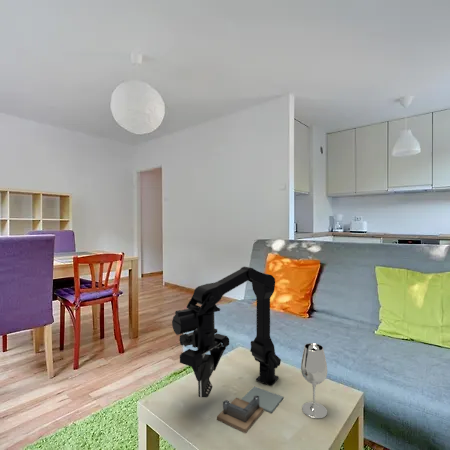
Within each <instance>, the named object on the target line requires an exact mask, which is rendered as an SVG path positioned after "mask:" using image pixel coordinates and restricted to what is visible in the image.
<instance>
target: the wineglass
mask: <svg viewBox="0 0 450 450" xmlns="http://www.w3.org/2000/svg"><path fill="white" fill-rule="evenodd" d="M300 362H301V364H300V371H301V376H302V377H303V378H304V379H305V380H306V382H308V383H309V384H311V385H312V401H309V402H305V403H303V404H302V406H301V410H302V412H303V414H305V416H307V417H309V418H313V419H322V418H323V419H324V418H325V417H326V416H327V415H328V410H327V408H326V407H325V406H324V405H323V404H321V403H318V402H316V389H317V388H316V387H317V385H320V384H322V383H323V382H324V381H325V380H326V378H327V377H328V365H327V364H328V363H327V360H326V354H325V351H324V346H322V345H321V344H319V343H314V342H310V343H309V342H308V343H305V344H304V347H303V351H302V356H301V361H300Z"/></svg>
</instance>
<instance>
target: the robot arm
mask: <svg viewBox="0 0 450 450" xmlns="http://www.w3.org/2000/svg"><path fill="white" fill-rule="evenodd" d="M247 282H250V283H251V286H252V291H253V293H254V295H255V297H256V335H255V337H254V340H250V350H249V352H250V353H251V356H252V357H253V358H254V360H255V361H256V362H258V363H259V376H257V377H256V379H255V380H256V381H257V382H260V383H261V384H266V385H268V386H271V387H272V386H273V385H274V384H275V383H276V382H277V381H278V380H279V376H278V375H276V369H278V367H280V365H281V361H282V360H281V358H280V357H279V356H278V355H276V350H275V345H274V342H273V340H272V338H271V297H272V296H273V294H274V292H275V287H276V279H275V277H274V276H273V274H268V273H263V272H261V271H259V270H257V269H256V268H255V269H254V268H253V267H249V266H242V267H240V268H239V269H238V270H236V271H234V272H232V273H230V274H229V275H227V276H225V277H223V278H222V279H220V280H217V281H215V282H210V283H205V284H202V285H198V286H197V287H195V289H194V291H193V293H192V297H191V298H190V300H189V302H188V303H187V306H186V309H182V310H181V309H179V310H175V311H174V312H175V314H174V315H173V317H172V320H171V321H172V322H171V324H172V325H171V326H172V330H173V332H174V334H175V335H177V336H179V345H180V346H183V347H188V346H192V348H197V350H194V349H190V348H188V349H186V350H185V351H183V352H181V353H180V355H179V363H180V364H183V365H186V366H188V367H191V369H192V372H193V373H194V374H193V375H194V376H195V379H196V381H197V382H198V381H199V382H200V381H201V378H202V374H203V369H204V365H205V362H204V361H202V360H203V356H202V355H204V354H208V353H210V354H209V355H212V356H213V358H214V370H213V372H214V371H216V369H217V367H218V365H219V362H220V361H221V358H222V357H223V354H224V352H225V351H226V350H227V347H228V346H229V345H230V339H229V337H228V336H227V335H224V334H221V333H218V328H215V324H216V323H215V313H216V312H220V311H221V308H219V307H218V306H217V304H218V303H219V302H220V301H221V300H222V298H223V296H224V295H226V294H227V293H229V292H231V291H232V290H235V288H237V287H239V286H241V285H243V284H244V283H247ZM197 304H198V305H197ZM200 305H201V306H200Z"/></svg>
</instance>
